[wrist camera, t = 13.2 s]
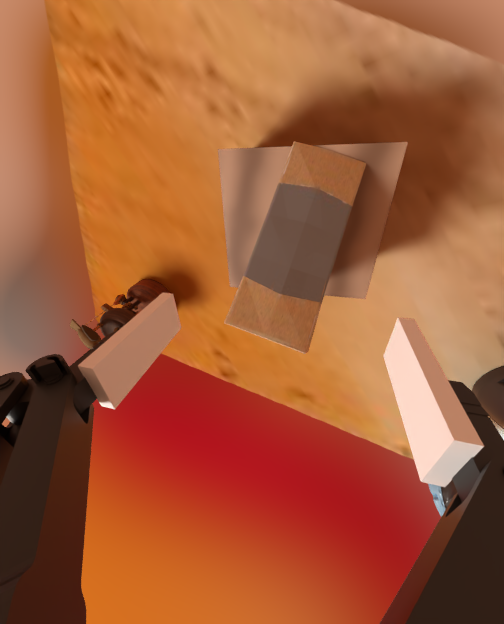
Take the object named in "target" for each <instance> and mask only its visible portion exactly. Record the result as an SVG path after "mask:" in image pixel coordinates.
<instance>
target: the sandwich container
mask: <svg viewBox="0 0 504 624" xmlns="http://www.w3.org/2000/svg"><path fill="white" fill-rule="evenodd" d="M365 166H366V163H364V162H362V161H359V160H356V159H353V158H351V157H348V156H345V155H343V154H340V153H337V152H334V151H332V150H328V149H324V148H320V147H316V146H312V145H308V144H304V143H300V142H295V141H294V142H293V145H292V148H291V150H290V153H289V156H288V158H287V161H286V164H285V167H284V169H283V172H282V175H281V177H280V180H279V183H278V185H277V188H276V191H275V194H274V196H273V199H272V202H271V204H270V207H269V210H268V213H267V215H266V218H265V220H264V223H263V225H262V228H261V230H260V233H259V236H258V238H257V241H256V243H255V246H254V249H253V251H252V254H251V257H250V259H249V262H248V265H247V267H246V270H245V272H244V275H243V278H242V280H241V283H240V285H239V287H238V290H237V292H236V295H235V297H234V300H233V302H232V305H231V307H230V310H229V312H228V314H227V317H226V319H225V321H224V323H225V324H228V325H230V326H233V327H236V328H238V329H241V330H244V331H246V332H249V333H252V334H254V335H257V336H260V337H262V338H265V339H268V340H270V341H273V342H275V343H278V344H281V345H283V346H286V347H288V348H291V349H293V350H296V351H299V352H301V353H304V354H306V353H307V352H308V350H309V347H310V343H311V340H312V336H313V332H314V329H315V325H316V322H317V318H318V314H319V311H320V307H321V304H322V300H323V297H324V294H325V291H326V288H327V284H328V281H329V278H330V275H331V272H332V269H333V266H334V262H335V259H336V256H337V253H338V250H339V247H340V244H341V240H342V237H343V234H344V231H345V228H346V225H347V221H348V218H349V215H350V212H351V209H352V206H353V203H354V200H355V197H356V194H357V191H358V188H359V185H360V182H361V179H362V176H363V173H364V170H365Z"/></svg>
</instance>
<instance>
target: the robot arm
mask: <svg viewBox="0 0 504 624" xmlns="http://www.w3.org/2000/svg"><path fill="white" fill-rule="evenodd" d="M180 329H181V325H180V321H179V316H178V312H177V308H176V304H175V299H174V295H173V294H171V293H162V294H160V295H159V296H158V297H157V298H156V299H155V300H153V301H152V302H151V303H150V304H149V305H148V306H146V307H145V308H144V309H143V310H142V311H141V312H139V313H138V314H137V315H136V316H135V317H134V318H133V319H131V320H130V321H129V322H128V323H127V324H126V325H124V326H123V327H122V328H121V329H120V330H119V331H115V332H113V333H111V334H109V335H107V336H106V337H105V338H103V339H102V340H101V341H100V342H99V344H96V345H95V346H94V347H93V349H90V350H89V351H88V352H87V353H85V354H84V355H83V356H82V357H81V358H80V359H78V360H77V361H76V362H75V363H73V364H72V365H71V366H70V367H69V366H68V365H67V363H66V361H65V360H64V358H63V357H62V356H61V355H57V354H53V355H48V356H45V357H42V358H40V359H38V360H36V361H34V362H33V363H32V364H31V365H29V366H28V368H27V369H26V372H27V373H28V374H29V376H30V377H31V378H32V379H29V380H27V379H26V378H25V377H24V376H23V374H22V373H19V372H12V373H8V374H5V375H2V376H0V624H86V606H85V600H84V597H83V594H82V590H81V573H82V560H83V548H84V534H85V521H86V508H87V494H88V482H89V468H90V455H91V442H92V428H93V415H94V407H93V404H92V403H93V402H94V401H95V400H96V399H98V401H99V403H100V404H101V406H103V407H107V408H112V409H115V408H116V407H117V406H118V405H119V403H120V402H121V401H122V400H123V399H124V397H125V396H126V395H127V394H128V392H129V391H130V390H131V389H132V387H133V386H134V385H135V384H136V383H137V381H138V380H139V379H140V378H141V377H142V375H143V374H144V373H145V372H146V370H147V369H148V368H149V367H150V366H151V364H152V363H153V362H154V361H155V359H156V358H157V357H158V356H159V354H160V353H161V352H162V351H163V350H164V348H165V347H166V346H167V345H168V344H169V342H170V341H171V340H172V339H173V337H174V336H175V335H176V334H177V333H178V331H179V330H180ZM384 359H385V363H386V366H387V370H388V373H389V376H390V380H391V383H392V386H393V390H394V393H395V396H396V400H397V403H398V407H399V410H400V413H401V417H402V420H403V423H404V427H405V430H406V433H407V437H408V440H409V444H410V447H411V450H412V454H413V457H414V460H415V464H416V467H417V470H418V474H419V477H420V481H421V482H425V483H428V485H429V488H430V491H431V493H432V494H433V500H434V502H435V505H436V507H437V510H438V511H439V513H440V515H441V519H440V521H439V522H438V524H437V526H436V527H435V529H434V531H433V533H432V534H431V536H430V538H429V540H428V541H427V543H426V545H425V546H424V548H423V550H422V552H421V553H420V555H419V557H418V559H417V560H416V562H415V564H414V565H413V567H412V569H411V571H410V572H409V574H408V576H407V578H406V580H405V581H404V583H403V585H402V586H401V588H400V590H399V591H398V593H397V595H396V597H395V598H394V600H393V602H392V603H391V605H390V607H389V609H388V610H387V612H386V614H385V616H384V617H383V619H382V621H381V622H380V624H504V440H503V439H502V437H501V435H500V434H499V432H498V431H497V429H496V428H495V426H494V424H493V423H492V421H491V420H490V418H488V416H490V417H491V418H492V419H493V420H494V421H495V422H496V423H497V424H498V425H499V426H501V427H502V428H503V429H504V366H503V367H500V368H497V369H495V370H492V371H490V372H488V373H487V374H485V375H484V376H482V377H481V378H480V379H479V380H478V381H477V382H476V383H475V385H474V386H473V389H472V391H471V390H470V389H469V388H467V387H466V386H465V385H464V384H463V383H462V382H456V381H449V380H448V379H447V378H446V376H445V374H444V372H443V370H442V369H441V367H440V365H439V363H438V361H437V359H436V358H435V356H434V354H433V352H432V350H431V349H430V347H429V345H428V343H427V341H426V340H425V338H424V336H423V334H422V332H421V330H420V329H419V327H418V325H417V323H416V321H415V320H414V319H408V318H399V317H398V319H397V321H396V324H395V327H394V329H393V332H392V335H391V337H390V340H389V343H388V345H387V348H386V351H385V353H384ZM6 417H7V418H8V419H9V420H10V421H11V422H10V423H9V425H8V426H7V427H4V426H3V425H2V422H3V421H4V420H5V418H6Z"/></svg>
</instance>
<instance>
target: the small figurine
mask: <svg viewBox="0 0 504 624" xmlns="http://www.w3.org/2000/svg"><path fill="white" fill-rule="evenodd" d="M162 293H169V291H168V290H167V289H166V288H165V287H164V286H163V285H162V284H160V283H158V282H157V281H154V280H150V279H144V280H141V281H139V282H138V283H136V284H135V285H133V286H132V287H131V288H130V289H129V290H128V292H127V299H126V297H125V295H124V294H122V295H118V296H117V297H116V299H115V302H114V303H113V305H117V304H121V305H123V306H122V308H112V307H111V306H109V305H108V304H104V305H103V306H101V308H102V309H103V310H104V311H103V312H105V311H106V312H105V313H104V314H103V315H102V317H101V319H100V323H99V324H97V327H96V328H94V329H93V330H92V329H91V328H89V327H87V326H86V325H87V324H88V323H89V322H88V323H86V324H85V325H82V327H80V326H79V325H78V324H77V323H76V322H75V321H74V320H73V319H72V321H71V324H70V327H71V328H72V329H74V330H76V331H77V332H78V335H79V337H80V339H81V341H82V342H83V344H84V345H86V347H88V348H90V349H93V347H94V346H95V345H96V344H99V342H100V341H101V338H100V336H99V335H98V334H97V333H96V332H95V331H96V330H97V329H98V328H100V329H101V331H102V333H103V335H104V336H105V337H106V336H107V335H109V334H111V333H113V332H115V331H119V330H120V329H121V328H122V327H123V326H124V325H126V324H127V323H128V322H129V321H130V320H131V319H133V318H134V317H135V316H136V315H137V314H138V313H139V312H141V311H142V310H143V309H144V308H145V307H146V306H148V305H149V304H150V303H151V302H152V301H153V300H155V299H156V298H157V297H158V296H159V295H160V294H162ZM113 305H112V306H113ZM103 312H102V313H103ZM102 313H101V314H102ZM99 315H100V314H99ZM99 315H98V316H99ZM98 316H97V317H98ZM95 318H96V317H95ZM95 318H94V319H95ZM91 321H92V320H91ZM91 321H90V322H91Z"/></svg>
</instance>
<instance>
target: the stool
mask: <svg viewBox="0 0 504 624" xmlns="http://www.w3.org/2000/svg"><path fill="white" fill-rule="evenodd" d="M407 144H408V142H390V143H365V144H339V145H313V146H316V147H320V148H324V149H328V150H332V151H334V152H337V153H340V154H343V155H345V156H348V157H351V158H353V159H356V160H359V161H362V162H364V163H366V166H365V170H364V173H363V176H362V179H361V182H360V185H359V188H358V191H357V194H356V197H355V200H354V203H353V206H352V209H351V212H350V215H349V218H348V221H347V225H346V228H345V231H344V234H343V237H342V240H341V244H340V247H339V250H338V253H337V256H336V259H335V262H334V266H333V269H332V272H331V275H330V278H329V281H328V284H327V288H326V291H325V294H324V295H327V296H338V297H349V298H360V299H366V295H367V291H368V288H369V284H370V280H371V276H372V273H373V269H374V265H375V262H376V258H377V254H378V251H379V247H380V243H381V240H382V236H383V232H384V229H385V225H386V221H387V217H388V214H389V210H390V206H391V203H392V199H393V195H394V192H395V188H396V184H397V181H398V177H399V173H400V170H401V166H402V162H403V158H404V155H405V151H406V147H407ZM291 148H292V146H287V147H262V148H236V149H218V154H219V166H220V177H221V189H222V200H223V212H224V223H225V235H226V246H227V258H228V269H229V281H230V287H239V285H240V283H241V280H242V278H243V275H244V272H245V270H246V267H247V265H248V262H249V259H250V257H251V254H252V251H253V249H254V246H255V243H256V241H257V238H258V236H259V233H260V230H261V228H262V225H263V223H264V220H265V218H266V215H267V213H268V210H269V207H270V204H271V202H272V199H273V196H274V194H275V191H276V188H277V185H278V183H279V180H280V177H281V175H282V172H283V169H284V167H285V164H286V161H287V158H288V156H289V153H290V150H291Z"/></svg>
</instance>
